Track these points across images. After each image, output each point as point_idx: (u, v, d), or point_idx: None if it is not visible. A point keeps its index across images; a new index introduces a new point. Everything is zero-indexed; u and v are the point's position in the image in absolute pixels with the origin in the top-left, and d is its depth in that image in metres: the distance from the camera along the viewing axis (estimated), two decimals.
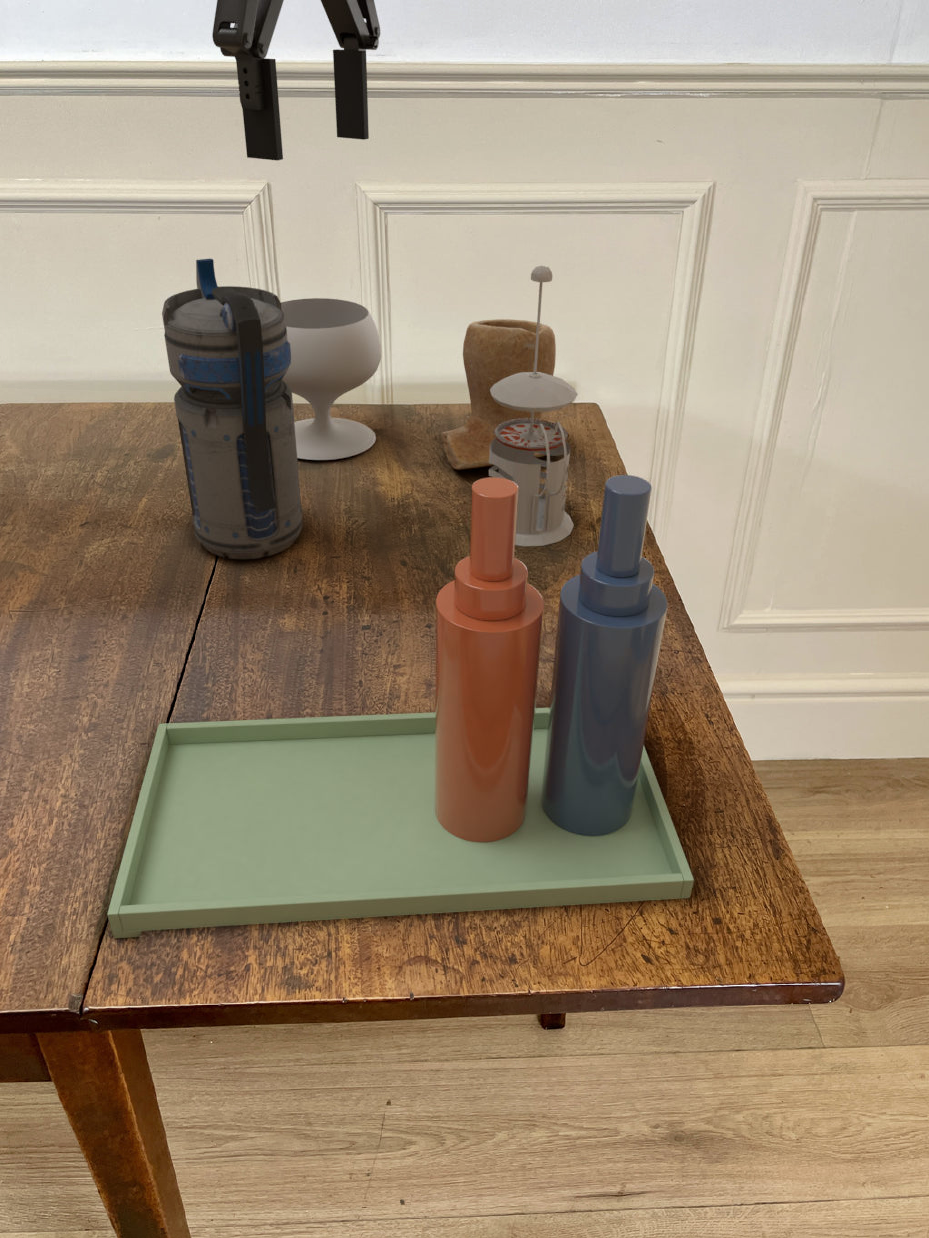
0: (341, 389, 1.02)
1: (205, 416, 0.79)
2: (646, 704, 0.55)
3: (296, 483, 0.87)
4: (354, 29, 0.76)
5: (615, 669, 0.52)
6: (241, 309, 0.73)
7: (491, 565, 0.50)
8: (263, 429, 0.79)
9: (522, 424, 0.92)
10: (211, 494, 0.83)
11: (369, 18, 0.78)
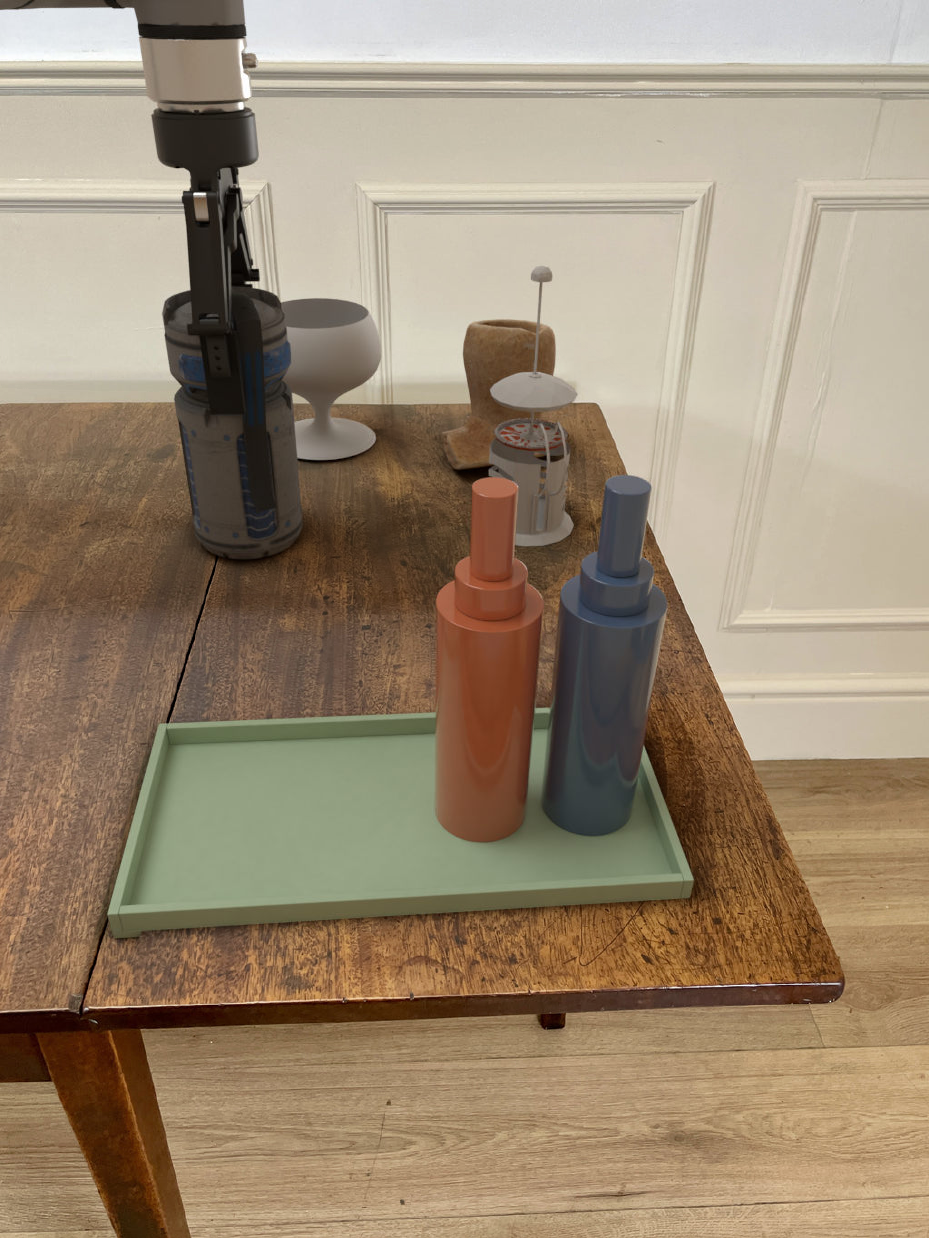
0: (341, 389, 1.02)
1: (205, 416, 0.79)
2: (646, 704, 0.55)
3: (296, 483, 0.87)
4: (243, 269, 0.82)
5: (615, 669, 0.52)
6: (241, 309, 0.73)
7: (491, 565, 0.50)
8: (263, 429, 0.79)
9: (522, 424, 0.92)
10: (211, 494, 0.83)
11: (247, 254, 0.84)
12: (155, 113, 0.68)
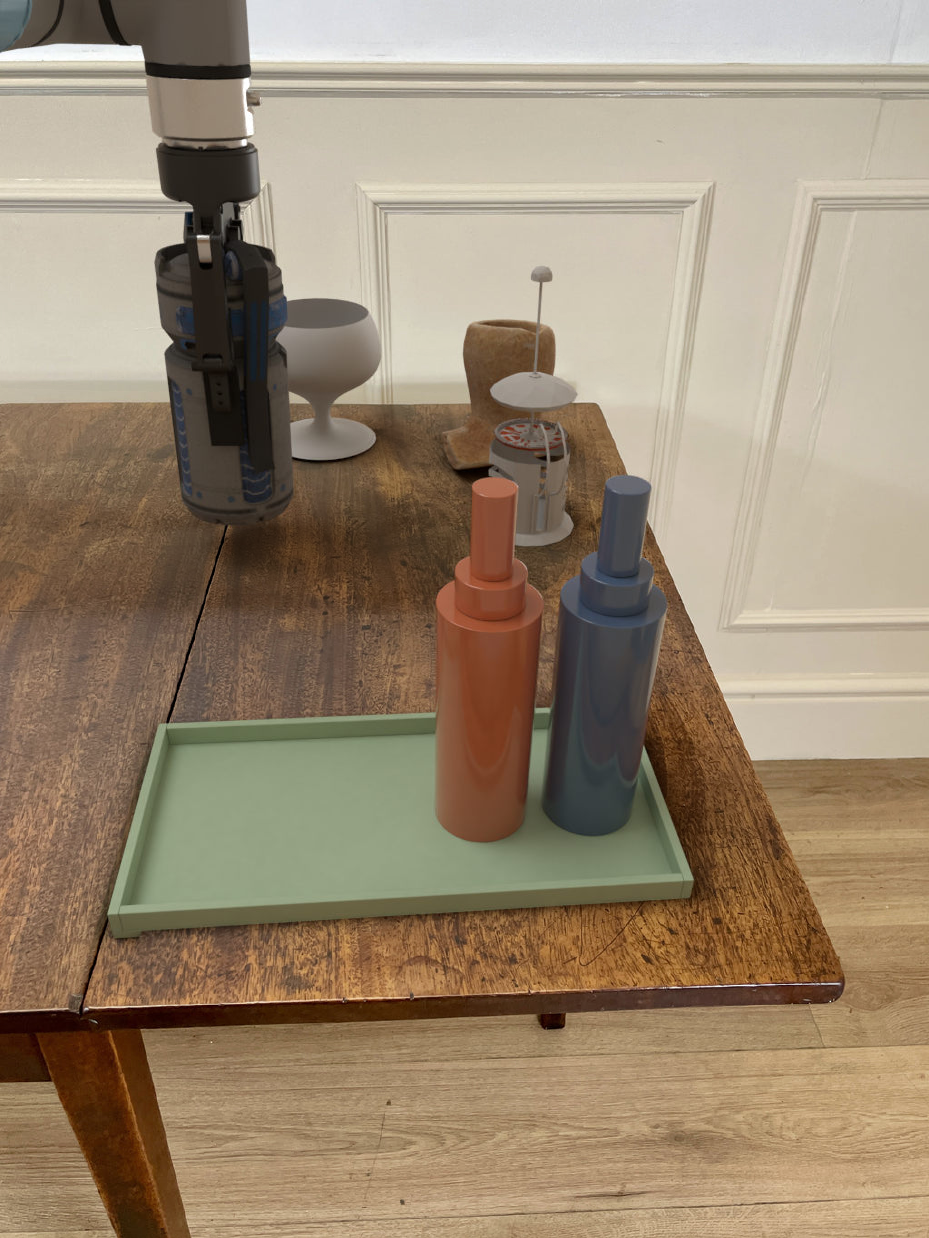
0: (341, 389, 1.02)
1: None
2: (646, 704, 0.55)
3: (290, 446, 0.85)
4: None
5: (615, 669, 0.52)
6: (248, 256, 0.71)
7: (491, 565, 0.50)
8: (264, 385, 0.77)
9: (522, 424, 0.92)
10: (207, 457, 0.80)
11: None
12: (160, 148, 0.70)
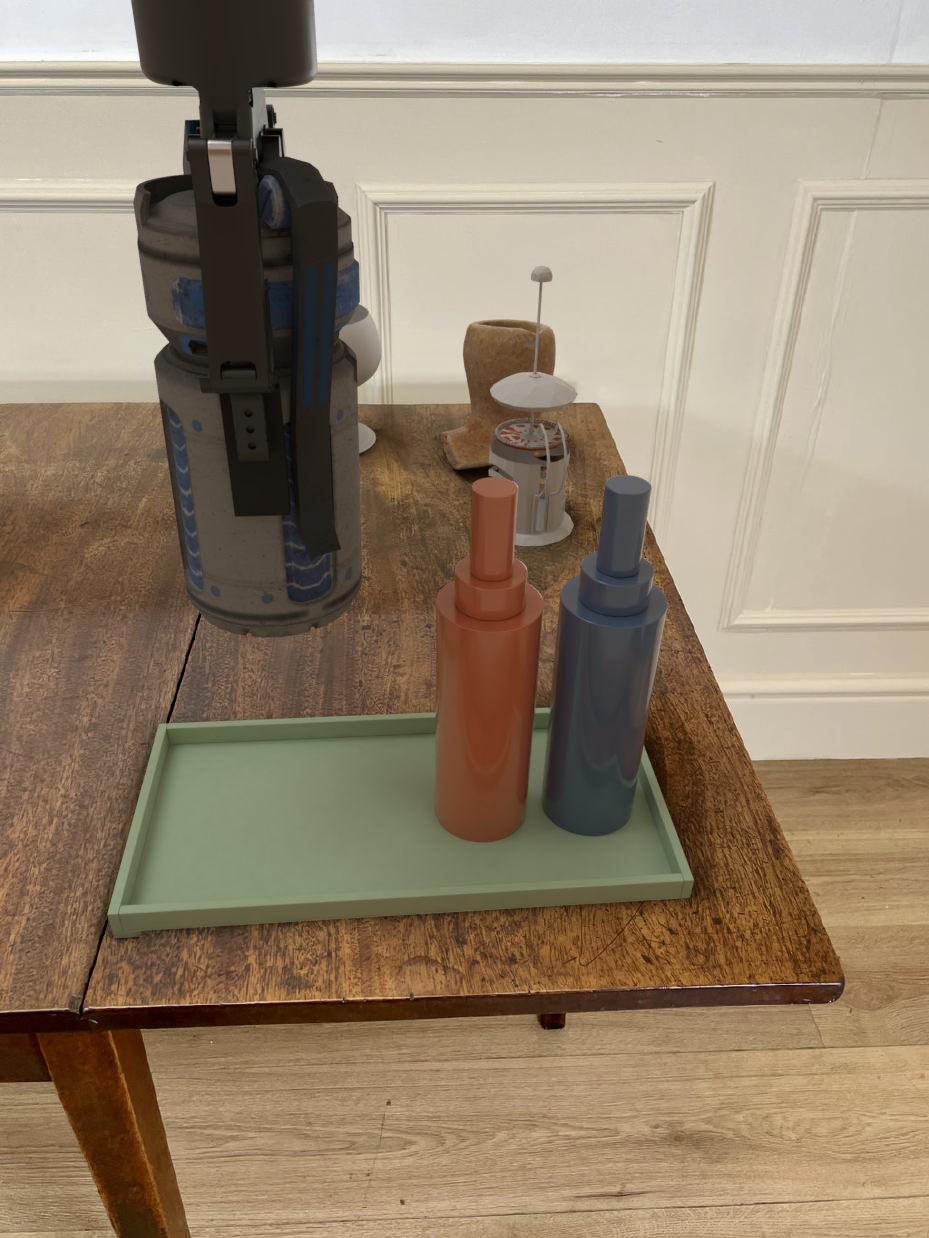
0: None
1: None
2: (646, 704, 0.55)
3: (359, 506, 0.53)
4: None
5: (615, 669, 0.52)
6: (302, 182, 0.39)
7: (491, 565, 0.50)
8: (325, 413, 0.45)
9: (522, 424, 0.92)
10: (227, 532, 0.48)
11: None
12: None
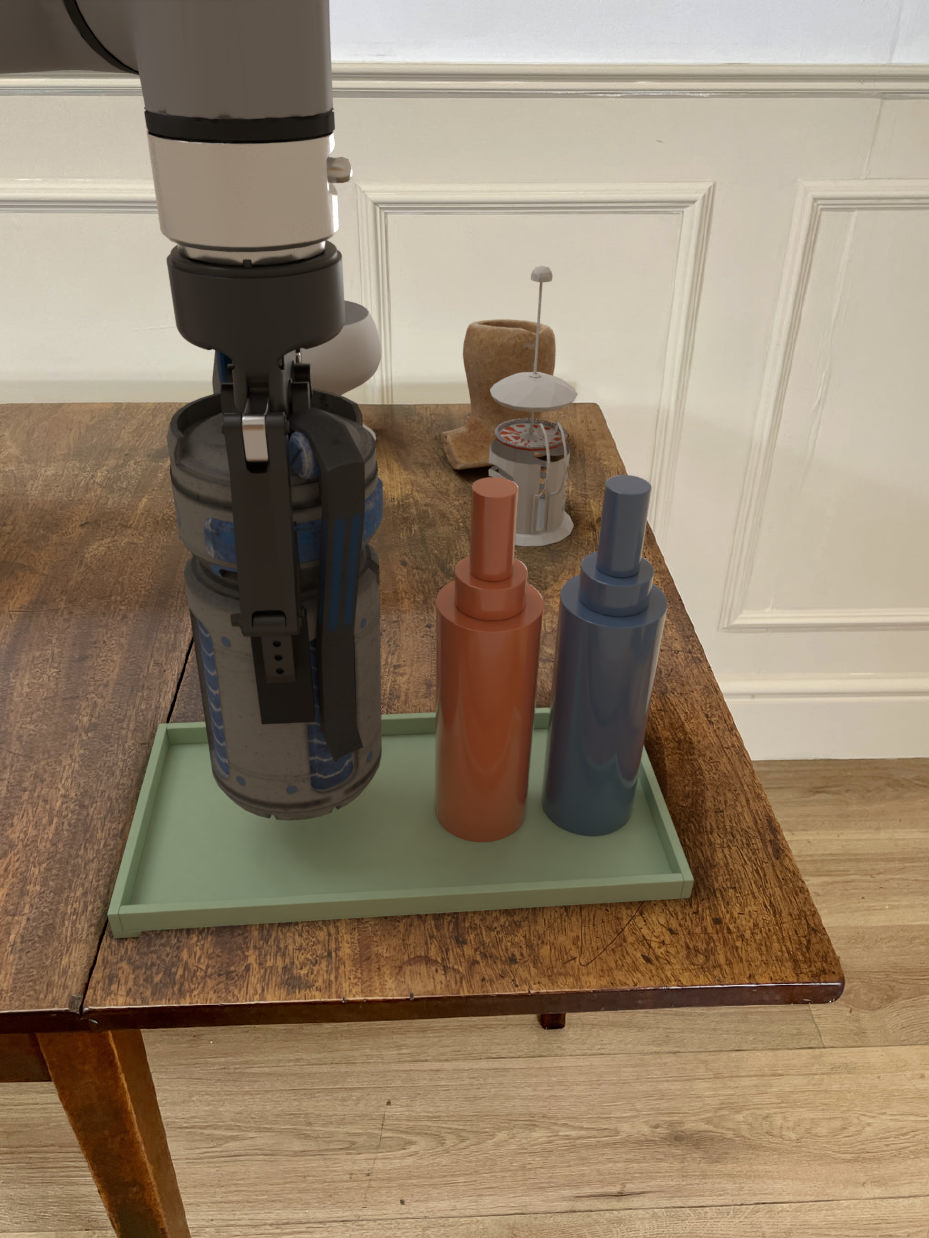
0: (341, 389, 1.02)
1: None
2: (646, 704, 0.55)
3: (380, 691, 0.54)
4: None
5: (615, 669, 0.52)
6: (331, 445, 0.40)
7: (491, 565, 0.50)
8: (350, 632, 0.47)
9: (522, 424, 0.92)
10: (254, 733, 0.50)
11: None
12: (174, 259, 0.39)
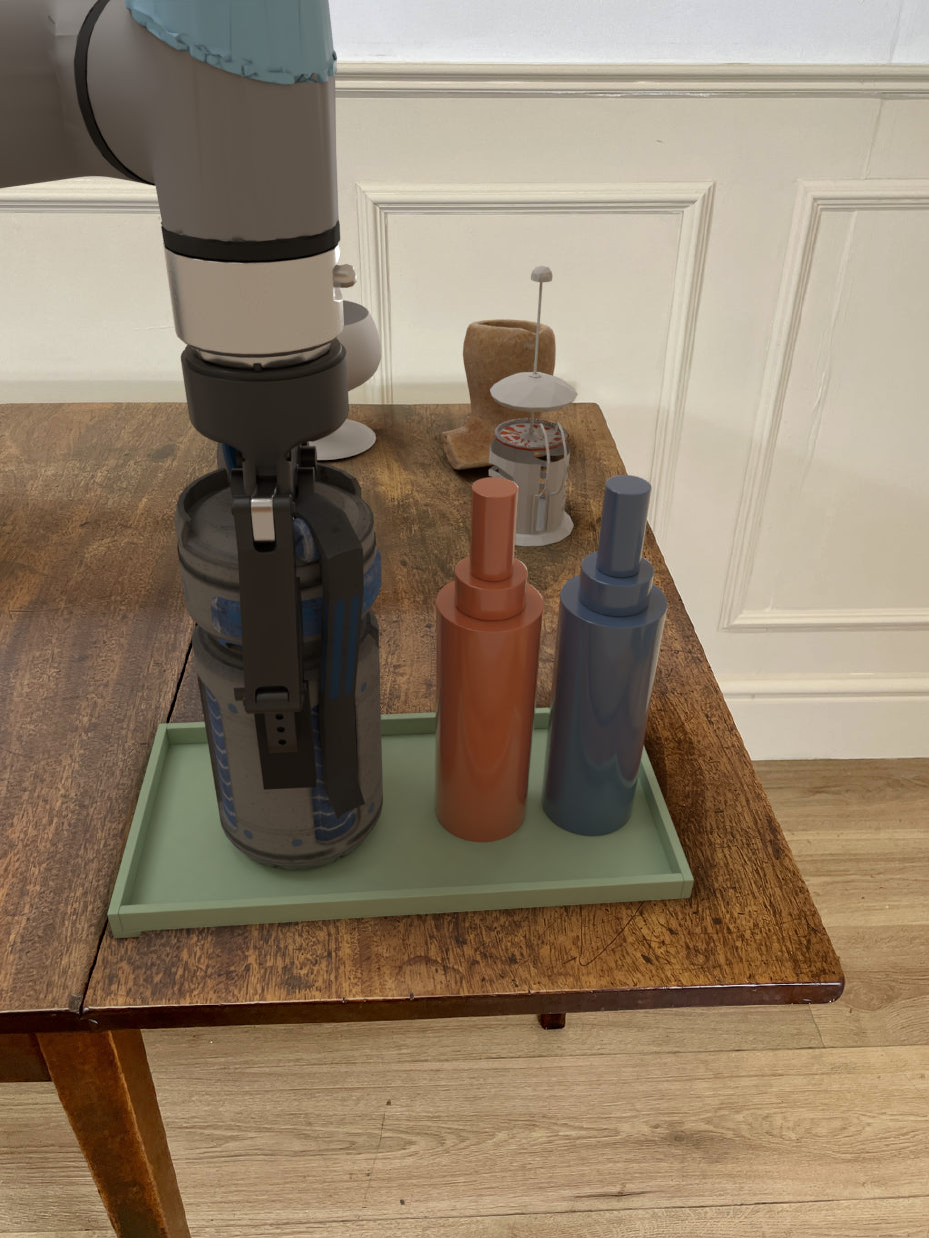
0: None
1: None
2: (646, 704, 0.55)
3: (380, 745, 0.56)
4: None
5: (615, 669, 0.52)
6: (331, 533, 0.42)
7: (491, 565, 0.50)
8: (351, 698, 0.49)
9: (522, 424, 0.92)
10: (260, 791, 0.52)
11: None
12: (188, 360, 0.42)
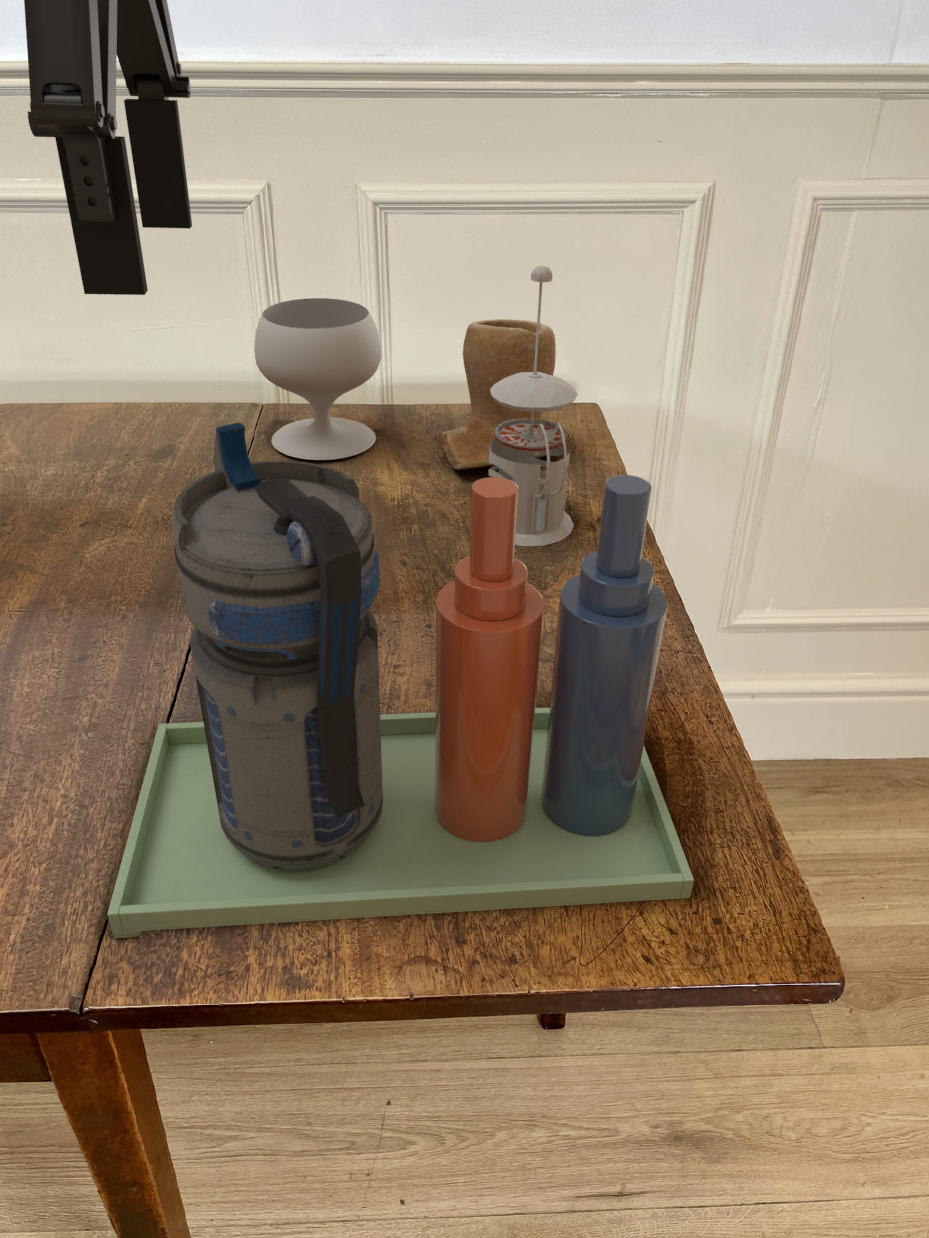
0: (341, 389, 1.02)
1: (253, 689, 0.48)
2: (646, 704, 0.55)
3: (380, 746, 0.56)
4: (161, 69, 0.50)
5: (615, 669, 0.52)
6: (328, 536, 0.42)
7: (491, 565, 0.50)
8: (350, 701, 0.49)
9: (522, 424, 0.92)
10: (260, 793, 0.52)
11: (170, 50, 0.52)
12: None
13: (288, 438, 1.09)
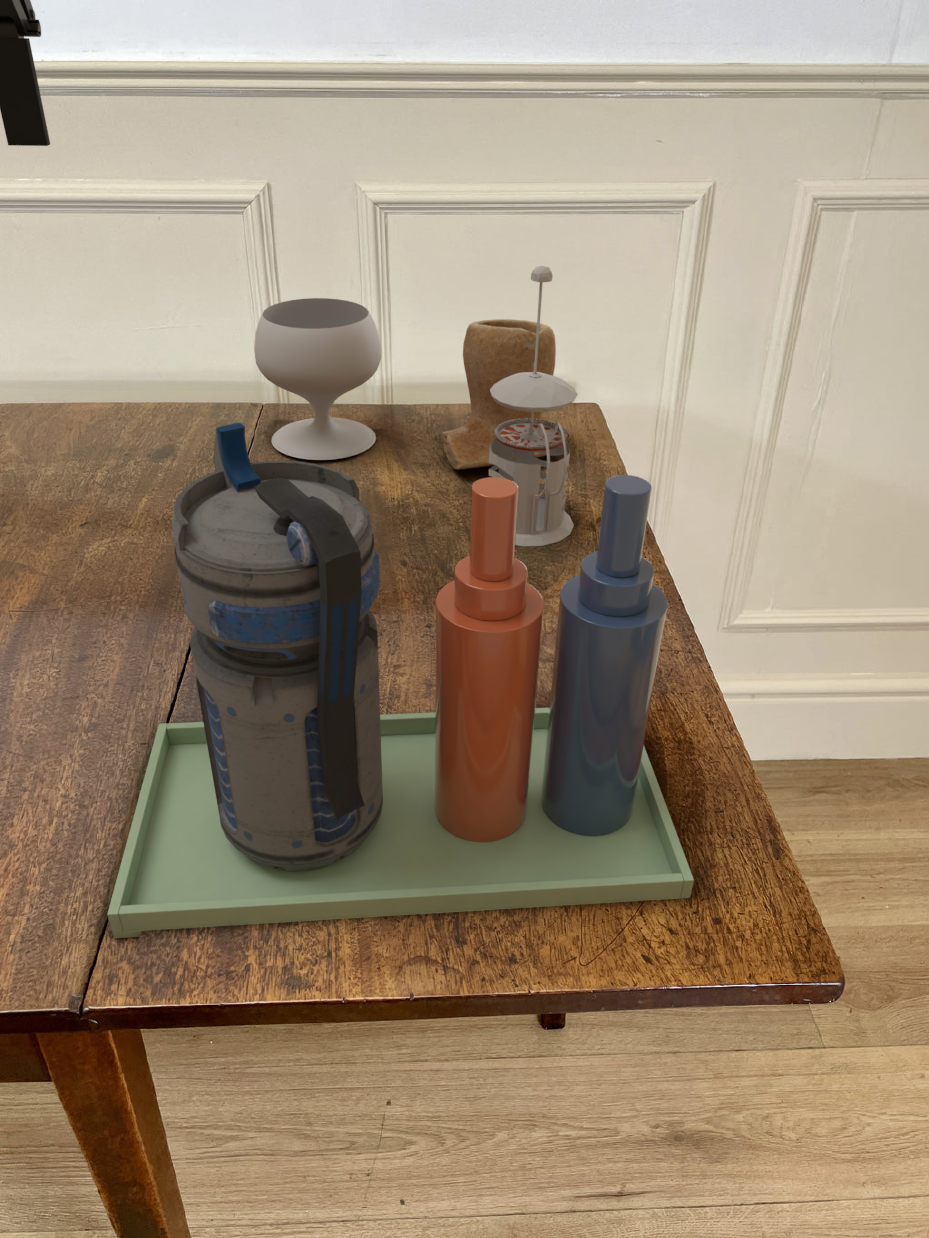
0: (341, 389, 1.02)
1: (253, 689, 0.48)
2: (646, 704, 0.55)
3: (380, 746, 0.56)
4: (12, 12, 0.62)
5: (615, 669, 0.52)
6: (328, 536, 0.42)
7: (491, 565, 0.50)
8: (350, 701, 0.49)
9: (522, 424, 0.92)
10: (260, 793, 0.52)
11: None
12: None
13: (288, 438, 1.09)
